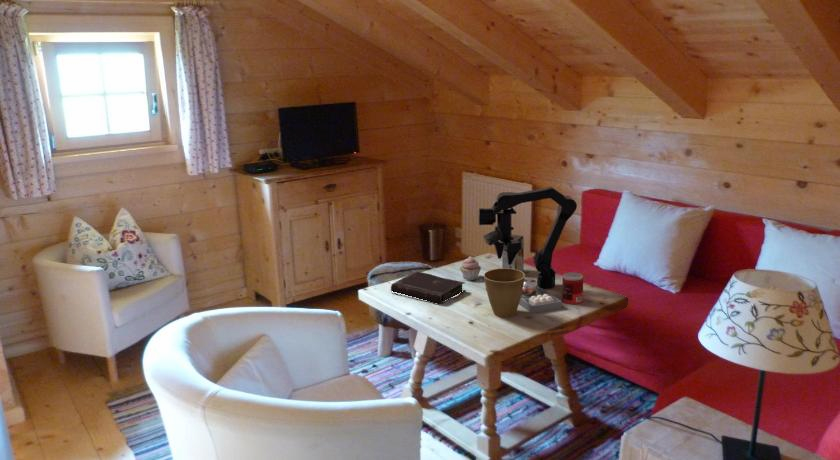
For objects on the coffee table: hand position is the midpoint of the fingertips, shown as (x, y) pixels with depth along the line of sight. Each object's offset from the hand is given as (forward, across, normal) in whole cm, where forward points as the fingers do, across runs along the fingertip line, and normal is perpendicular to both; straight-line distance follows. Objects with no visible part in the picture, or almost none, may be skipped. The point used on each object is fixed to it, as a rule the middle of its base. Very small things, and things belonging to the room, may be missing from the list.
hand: (504, 261), depth 268 cm
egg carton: (+11, +25, +3) cm, 27 cm away
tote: (+12, +18, +3) cm, 22 cm away
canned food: (+12, +24, +17) cm, 32 cm away
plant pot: (+12, +25, -12) cm, 30 cm away
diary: (+13, -10, -29) cm, 34 cm away
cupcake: (+12, -19, -7) cm, 24 cm away
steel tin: (+11, +15, +3) cm, 19 cm away
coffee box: (+12, -18, +13) cm, 25 cm away
